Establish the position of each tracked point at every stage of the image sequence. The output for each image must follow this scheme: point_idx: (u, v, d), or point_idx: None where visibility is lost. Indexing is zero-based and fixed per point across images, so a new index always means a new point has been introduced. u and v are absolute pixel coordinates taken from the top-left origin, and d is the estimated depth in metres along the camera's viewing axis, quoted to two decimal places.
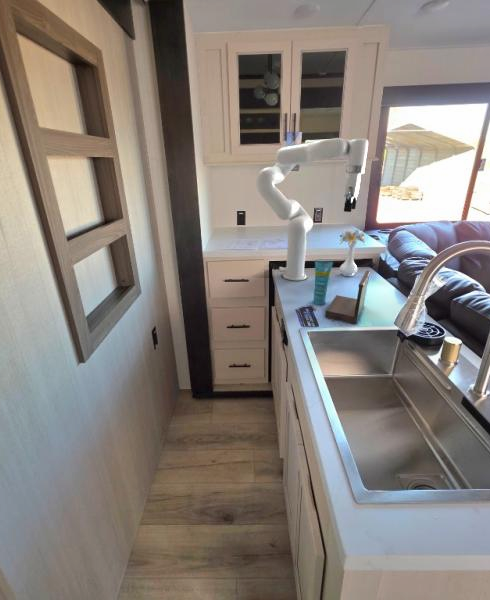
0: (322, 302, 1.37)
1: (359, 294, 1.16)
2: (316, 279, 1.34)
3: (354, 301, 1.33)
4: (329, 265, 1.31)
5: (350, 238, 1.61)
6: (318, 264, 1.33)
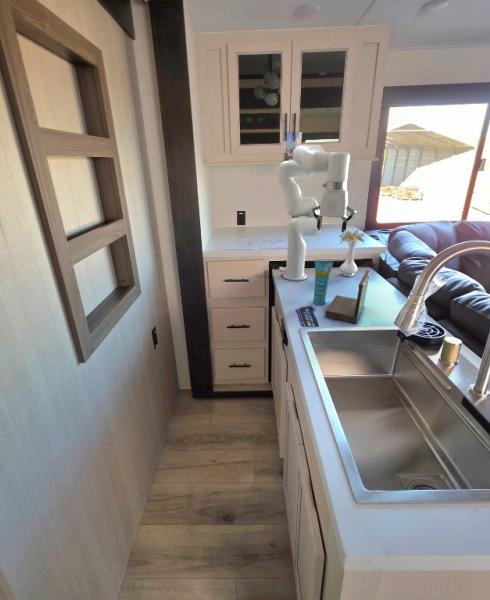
0: (322, 302, 1.37)
1: (359, 294, 1.16)
2: (316, 279, 1.34)
3: (354, 301, 1.33)
4: (329, 265, 1.31)
5: (350, 238, 1.61)
6: (318, 264, 1.33)
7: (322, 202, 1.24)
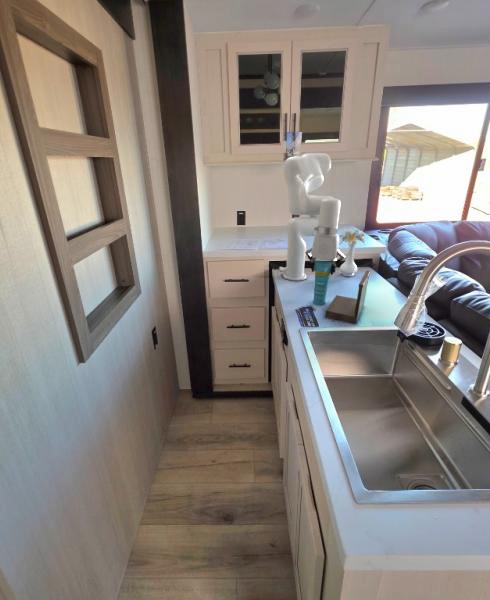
0: (322, 302, 1.37)
1: (359, 294, 1.16)
2: (316, 279, 1.34)
3: (354, 301, 1.33)
4: (329, 265, 1.31)
5: (350, 238, 1.61)
6: (318, 264, 1.33)
7: (314, 245, 1.28)
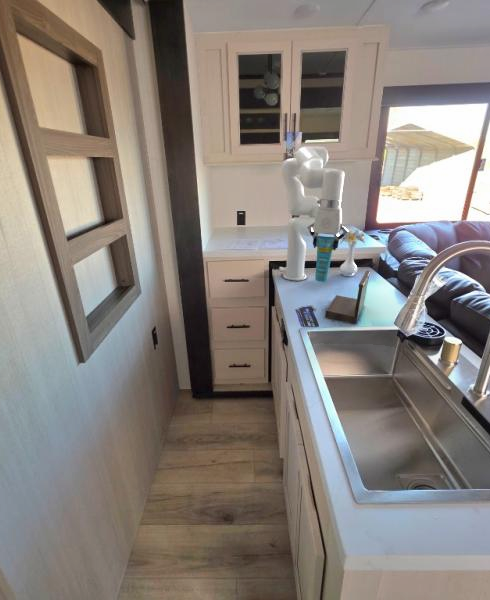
0: (324, 279, 1.33)
1: (359, 294, 1.16)
2: (318, 255, 1.31)
3: (354, 301, 1.33)
4: (332, 240, 1.27)
5: (350, 238, 1.61)
6: (320, 240, 1.29)
7: (316, 219, 1.24)
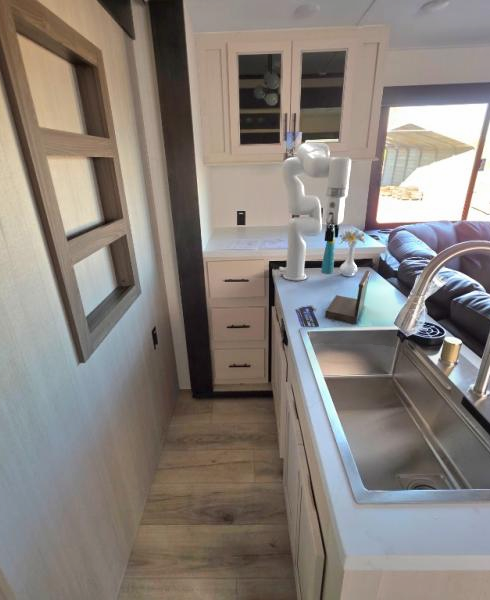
0: None
1: (359, 294, 1.16)
2: (332, 248, 1.25)
3: (354, 301, 1.33)
4: (334, 229, 1.27)
5: (350, 238, 1.61)
6: None
7: (339, 210, 1.17)
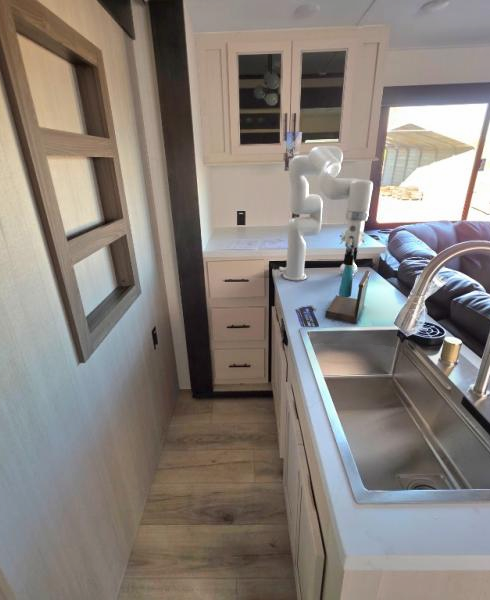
0: None
1: (359, 294, 1.16)
2: (351, 271, 1.22)
3: (354, 301, 1.33)
4: None
5: None
6: None
7: (359, 234, 1.13)
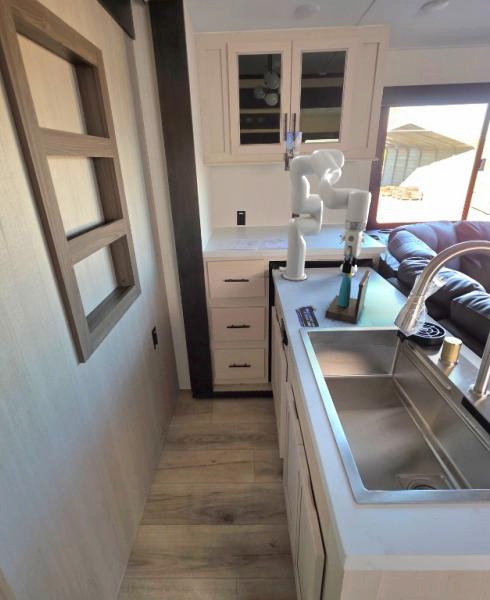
0: None
1: (359, 294, 1.16)
2: (349, 281, 1.23)
3: (354, 301, 1.33)
4: None
5: None
6: None
7: (358, 244, 1.15)
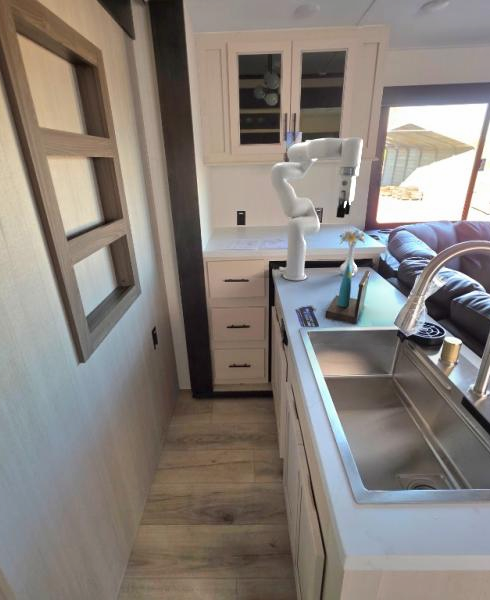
0: None
1: (359, 294, 1.16)
2: (349, 281, 1.23)
3: (354, 301, 1.33)
4: None
5: (350, 238, 1.61)
6: (349, 265, 1.21)
7: (351, 188, 1.24)
